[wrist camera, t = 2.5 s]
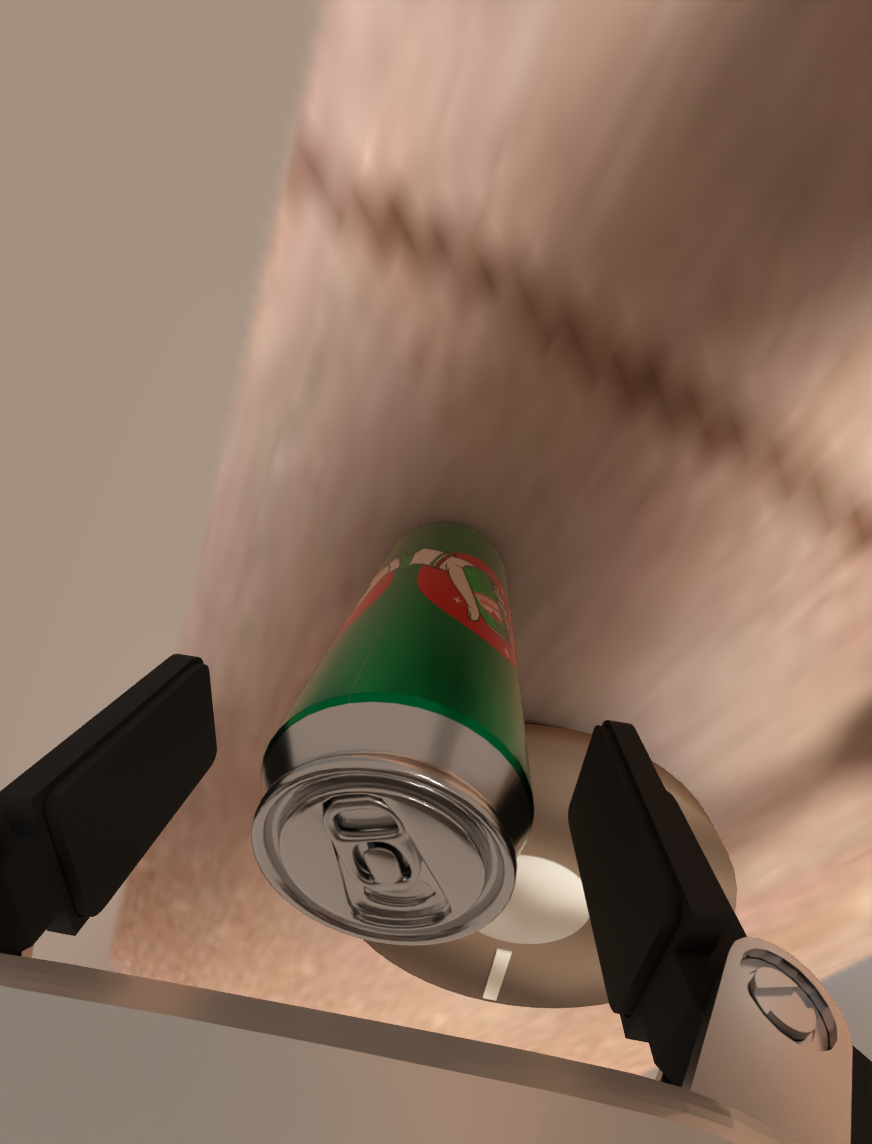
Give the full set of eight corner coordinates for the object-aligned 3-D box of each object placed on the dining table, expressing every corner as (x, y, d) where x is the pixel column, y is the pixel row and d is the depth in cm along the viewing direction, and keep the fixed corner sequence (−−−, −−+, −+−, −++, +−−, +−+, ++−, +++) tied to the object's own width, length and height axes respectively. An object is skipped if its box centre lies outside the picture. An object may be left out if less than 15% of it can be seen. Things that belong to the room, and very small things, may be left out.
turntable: (342, 691, 19) (330, 715, 18) (791, 766, 18) (819, 798, 17) (334, 939, 27) (325, 969, 25) (648, 1002, 26) (658, 1038, 24)
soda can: (405, 636, 19) (294, 963, 8) (372, 532, 17) (172, 764, 6) (516, 617, 18) (564, 959, 7) (493, 505, 16) (508, 725, 5)
